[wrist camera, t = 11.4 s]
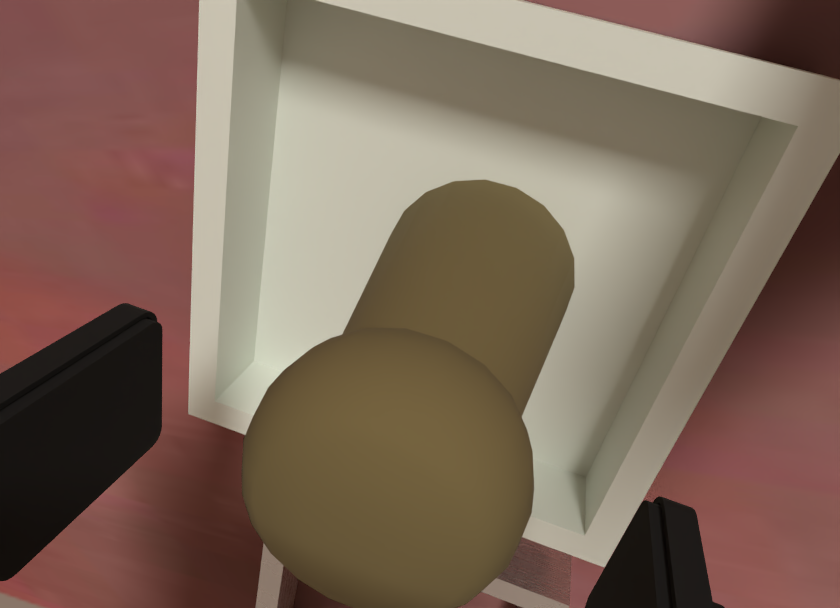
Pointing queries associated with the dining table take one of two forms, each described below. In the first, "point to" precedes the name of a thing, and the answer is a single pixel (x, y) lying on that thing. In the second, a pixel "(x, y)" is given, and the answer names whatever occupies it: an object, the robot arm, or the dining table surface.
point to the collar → (518, 584)
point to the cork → (417, 409)
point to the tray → (510, 165)
